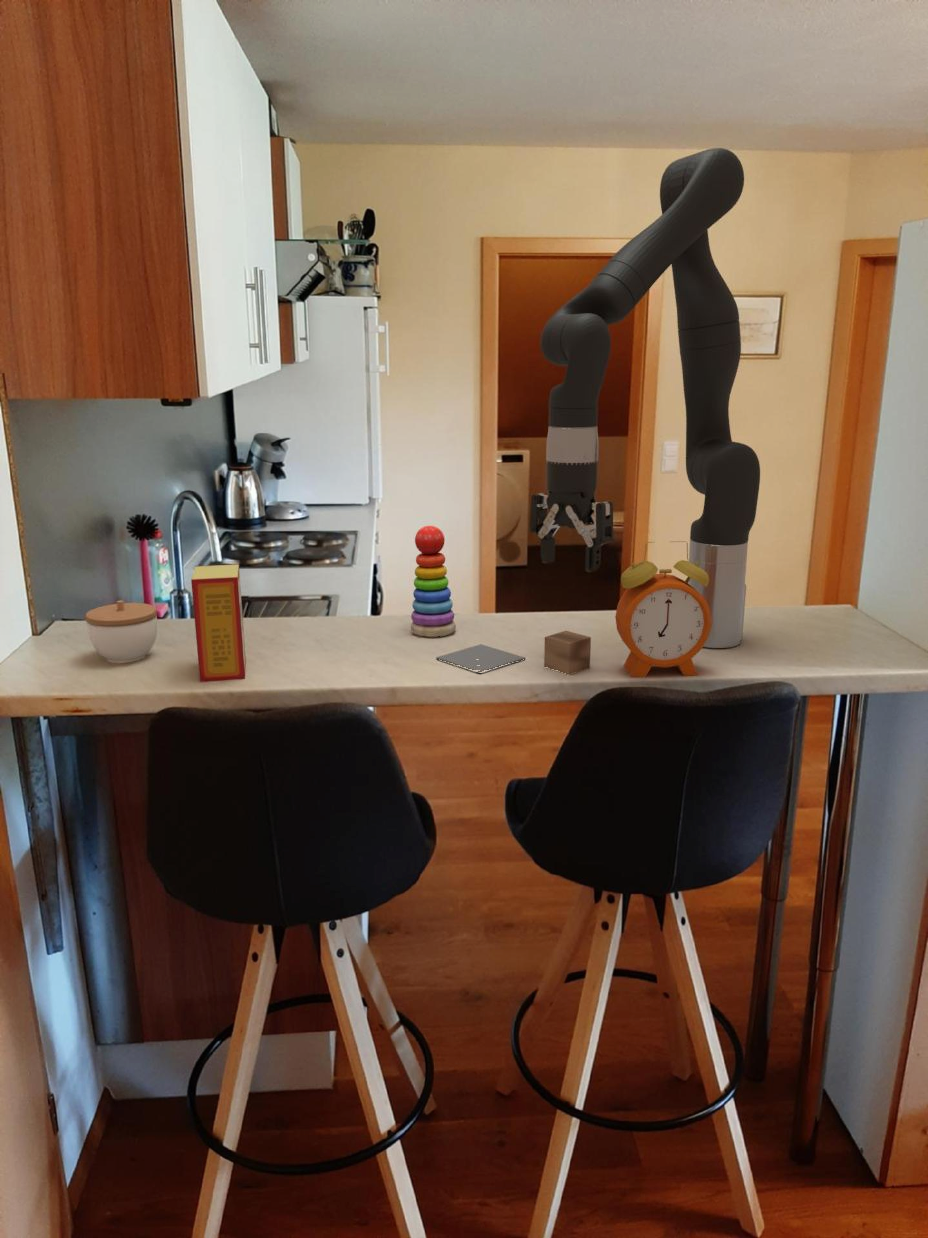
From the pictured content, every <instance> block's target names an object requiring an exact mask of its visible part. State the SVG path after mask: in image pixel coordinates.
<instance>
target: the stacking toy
mask: <svg viewBox="0 0 928 1238" xmlns="http://www.w3.org/2000/svg"><path fill="white" fill-rule="evenodd" d="M414 544H415V547H416V548H417V550H418V551H419V552H420V553H419V554H417V556H416V557H415V563H416V564H417V567H415V569H414V575H415V576H416V577H415V578H414V580H413V586H414V587H415V589H414V590H413V598H414V600H413V601H412V609H413V611H412V612H411V616H410V617H411V618H410V619H411V620H412V622H411V623H410V630H411V632H412V633H414V634H415V635H416V636H421V637H425V636H426V638H436V637H438V636H440V637H444V636H445V637H446V636H449V635H450V634H452V633H453V632H455V631H456V627H457V625H456V622H455V621H454V619H455V613H454V611H453V610H452V609H453V605H454V603H453V601H452V599H451V596H452V592H451V589H450V588H449V587H448V586H449V579H448V577H447V576H446V575H447V572H448V570H447V568H446V566H445V565H444V564H445V562H446V557H445V555H444V554H443V553H441V552H442V549H443V548H444V545H445V534H444V533H443V532H442V530H441V529H440V528H439V527H437V526H435V525H424V526H422V527H421V528H419V530H418V531H417V532H416V534H415V536H414ZM438 638H439V637H438Z"/></svg>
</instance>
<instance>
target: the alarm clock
mask: <svg viewBox="0 0 928 1238" xmlns="http://www.w3.org/2000/svg"><path fill="white" fill-rule="evenodd" d="M684 542H685V543H686V559H687V560H684V559H683V560H682V559H681V560H679V561H677V562H676V563H675V564H674V565H672V567H673V568H674V569H675V570H677V571H678V572H680V574H681V573H682V574H683V575H684V576H687V577H686V579H681V578H680V577H678V576H676V575H673V574H672V573H673V571H672V569H671V568H665V569H664V568H661V569H658V567H657V566H656V565H655V564H654V562H651V561H649V560H646V554H647V553H646V552H647V545H648V543H650V544H651V543H654V541H647V542H646V543H645V547H644V548H645V549H644V558H643V560H642V561H638V562H637V563H636V562H635V563H634V562H632V563H630V566H628V568H626V570H624V571H623V573H622V574H621V578H620V581H621V582H620V583H621V586H622V588H623V589H625V591H623V593H622V596H621V597H620V599H619V601H618V603H617V607H616V611H615V616H614V617H615V625H616V630H617V632H618V634H619V637H620V639H621V641H622V642H623V644H624V645H625V646H626V647H627V648H628V650H629V654H628V656H627V658H626V659H625V662H624V664H623V667H624V668H625V670H626V671H627V672H628V674H629V675H630V676H631V677H632V678H637V677H641V678H642V677H643V678H645V677H647V675H648V673H649V672H650V671H651V669H652V667H657V668H672V667H676V669H678V670H679V672H680V673H681V674H682V675H683V676H697V675H698V672H697V670H696V668H695V665H694V662H693V660H692V659H693V658H694V657H695V656H696V655H697V654H699V652H700V651H701V650H702V649H703V648H704V647H703V646H704V644H705V642H706V641H707V639H708V637H709V633H710V628H711V614H710V609H709V607H708V605H707V603H706V600H705V599H704V598H703V596H702V595H701V594H700V593H699V592H698V591H697V590H696V589H694V588H693V587H692V586H691V585H689V584H688V582H689V580H690V579H693V580H695V581H696V582H698V583H700V584H702V585H704V586H706V587H707V585H708V582H709V576H708V574H707V573H706V572H705V571H704V570H702V569H701V568H699V567H698V566H699V565H700V562H698V561H697V563H696V565H694V564H695V563H694V564H692V563H693V562H692V563H691V562H689V561H690V560H689V546H688V542H687V541H686V540H683V541H681V540H680V541H678V540H677V541H673V540H672V541H670V543H684ZM658 571H659V573H658Z"/></svg>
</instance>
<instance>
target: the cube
mask: <svg viewBox="0 0 928 1238" xmlns="http://www.w3.org/2000/svg"><path fill="white" fill-rule="evenodd" d="M591 638H592V637H591V636H588V635H584V634H580V633H576V632H572V631H569V630H564V631H560V632H557V633H554V634H551V635H546V636H544V650H543V651H544V652H543V653H544V654H543V656H544V657H543V661H544V662H543V666H544V667H548V668H550V669H549V670H551V669H554V670H558V671H560V672H559V673H561V672H563V673H562V674H564V673H566V674H565V675H567V674H570V675H573V674H575V673H574V672H576V673H578V671H579V672H581V671H580V670H582V671H584V670H586V669H590V667H591V648H592V647H591V643H592V641H591V640H592V639H591ZM544 667H543V668H544ZM548 668H547V669H548ZM554 670H553V671H554ZM572 673H573V674H572Z"/></svg>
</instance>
